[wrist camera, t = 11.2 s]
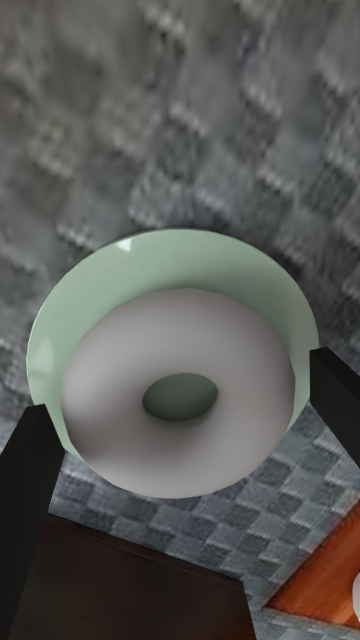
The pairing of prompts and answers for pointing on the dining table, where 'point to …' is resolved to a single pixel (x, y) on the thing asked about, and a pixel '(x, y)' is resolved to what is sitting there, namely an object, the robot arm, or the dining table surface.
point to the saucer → (157, 275)
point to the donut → (175, 358)
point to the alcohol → (356, 596)
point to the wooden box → (123, 592)
